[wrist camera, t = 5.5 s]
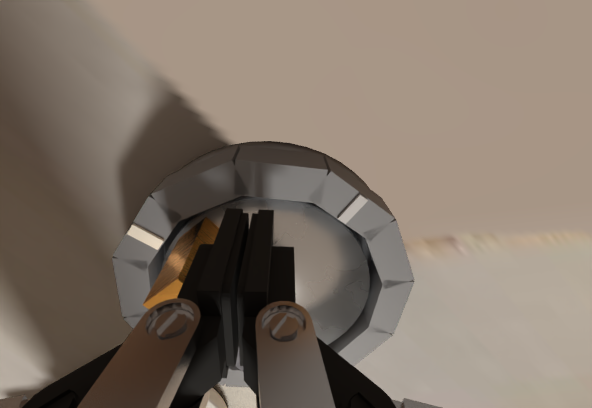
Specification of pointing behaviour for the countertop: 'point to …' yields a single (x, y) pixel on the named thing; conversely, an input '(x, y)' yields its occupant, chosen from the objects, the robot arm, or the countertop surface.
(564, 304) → the countertop surface
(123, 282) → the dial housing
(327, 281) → the dial
